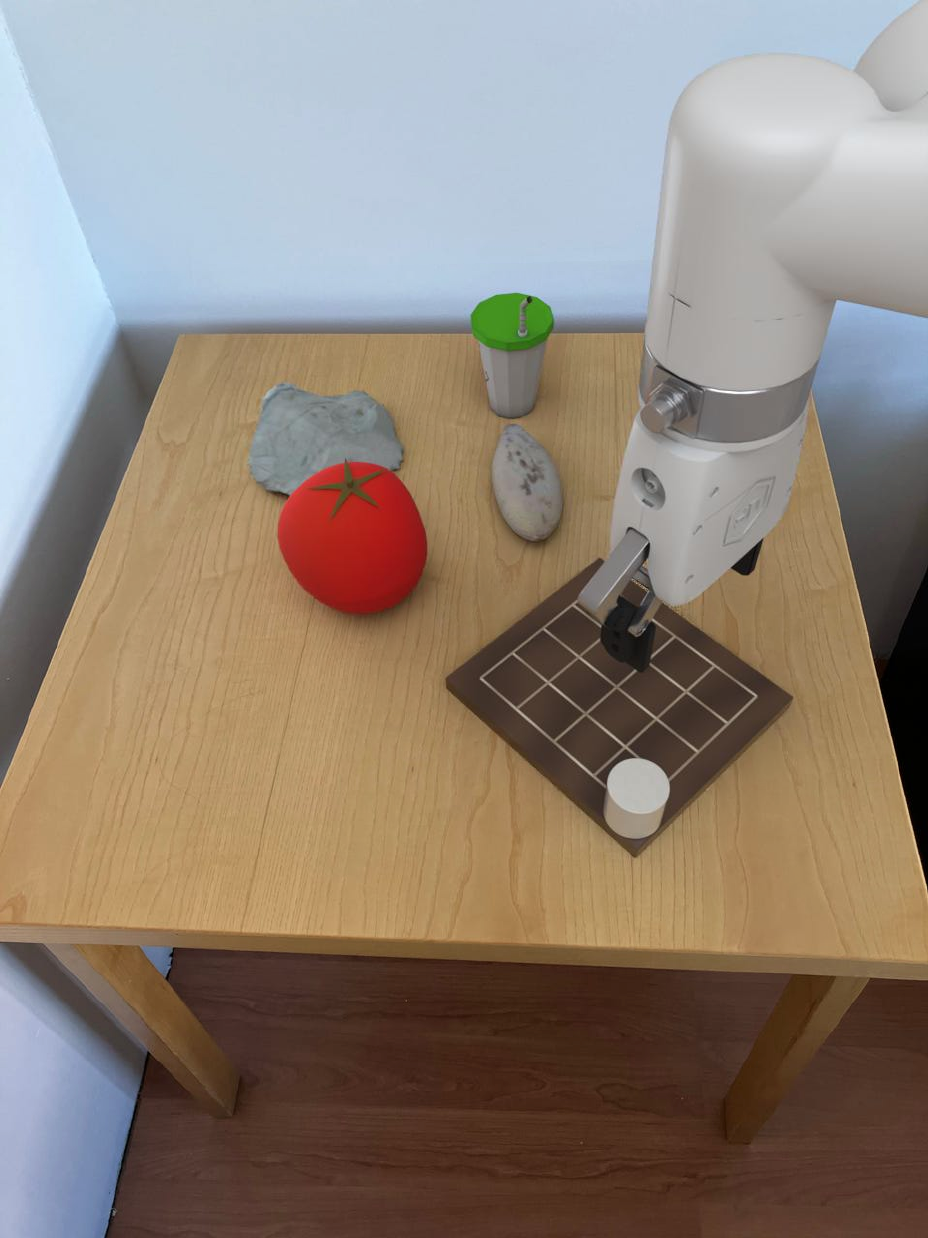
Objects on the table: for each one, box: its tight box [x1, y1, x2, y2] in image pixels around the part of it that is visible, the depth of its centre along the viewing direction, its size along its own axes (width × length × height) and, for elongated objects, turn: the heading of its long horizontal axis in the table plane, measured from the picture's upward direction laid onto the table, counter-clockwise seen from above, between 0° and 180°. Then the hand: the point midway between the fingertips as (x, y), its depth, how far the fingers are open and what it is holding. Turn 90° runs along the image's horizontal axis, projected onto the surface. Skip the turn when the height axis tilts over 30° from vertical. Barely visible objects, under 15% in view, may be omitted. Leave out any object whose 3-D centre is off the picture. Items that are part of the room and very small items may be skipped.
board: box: [445, 557, 794, 859], centre depth 75 cm, size 20×18×2 cm
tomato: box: [276, 458, 428, 615], centre depth 79 cm, size 12×12×13 cm
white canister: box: [603, 758, 670, 839], centre depth 66 cm, size 4×4×4 cm
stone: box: [247, 381, 404, 497], centre depth 93 cm, size 16×4×15 cm
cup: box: [470, 292, 555, 420], centre depth 92 cm, size 8×8×15 cm
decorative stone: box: [491, 423, 564, 542], centre depth 88 cm, size 6×16×3 cm, turn 10°
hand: (678, 607), depth 56 cm, fingers open, 9 cm apart
